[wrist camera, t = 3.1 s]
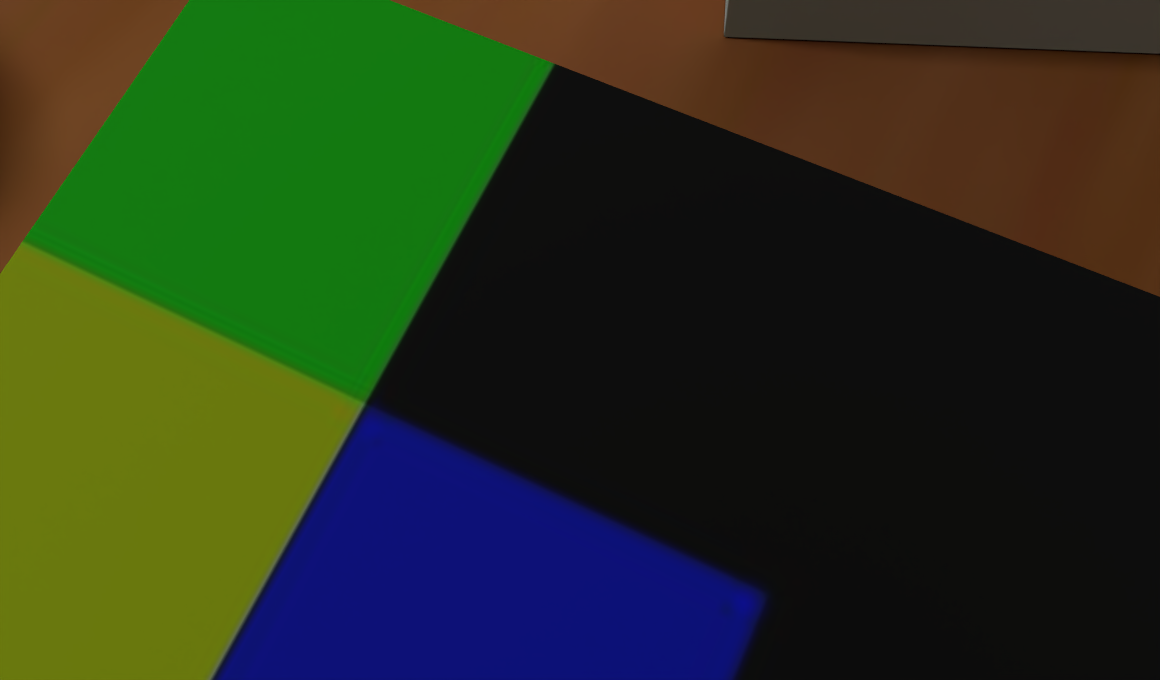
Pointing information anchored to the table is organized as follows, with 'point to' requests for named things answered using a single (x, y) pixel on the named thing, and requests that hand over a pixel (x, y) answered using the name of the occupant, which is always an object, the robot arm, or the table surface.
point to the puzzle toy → (543, 392)
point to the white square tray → (956, 22)
